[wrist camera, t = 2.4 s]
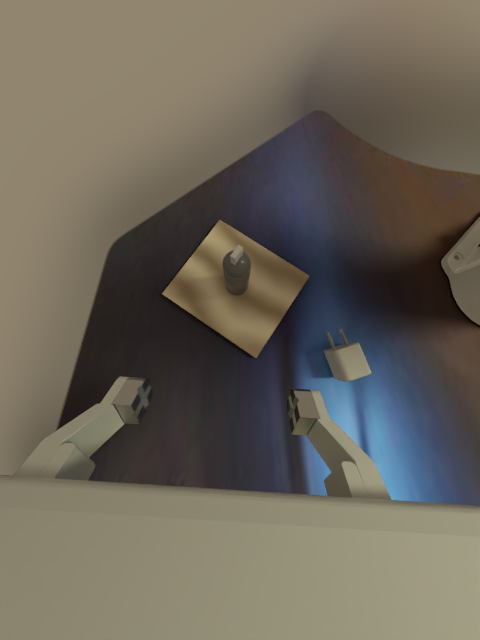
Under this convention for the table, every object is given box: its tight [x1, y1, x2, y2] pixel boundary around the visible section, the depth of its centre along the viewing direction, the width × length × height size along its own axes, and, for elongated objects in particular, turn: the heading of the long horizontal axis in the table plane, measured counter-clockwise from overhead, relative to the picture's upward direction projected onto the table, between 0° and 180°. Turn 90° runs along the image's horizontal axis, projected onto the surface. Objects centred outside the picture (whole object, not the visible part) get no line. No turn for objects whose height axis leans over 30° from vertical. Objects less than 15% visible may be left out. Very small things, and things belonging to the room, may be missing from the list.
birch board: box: [162, 220, 309, 358], centre depth 31 cm, size 16×18×1 cm
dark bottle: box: [222, 245, 251, 295], centre depth 25 cm, size 4×4×10 cm
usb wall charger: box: [324, 328, 371, 381], centre depth 28 cm, size 4×7×4 cm, turn 17°
